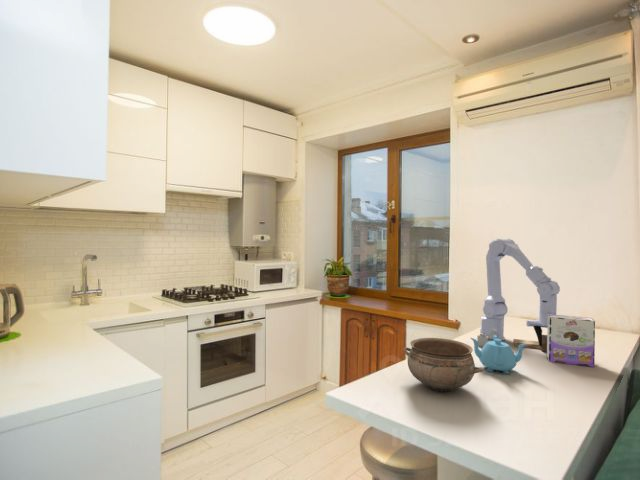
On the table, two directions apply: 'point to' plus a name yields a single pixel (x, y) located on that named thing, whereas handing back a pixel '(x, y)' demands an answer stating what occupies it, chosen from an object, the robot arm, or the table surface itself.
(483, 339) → the lighter
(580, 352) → the candy box
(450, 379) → the cooking pot
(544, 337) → the brown wooden block
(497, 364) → the teapot
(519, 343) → the board
